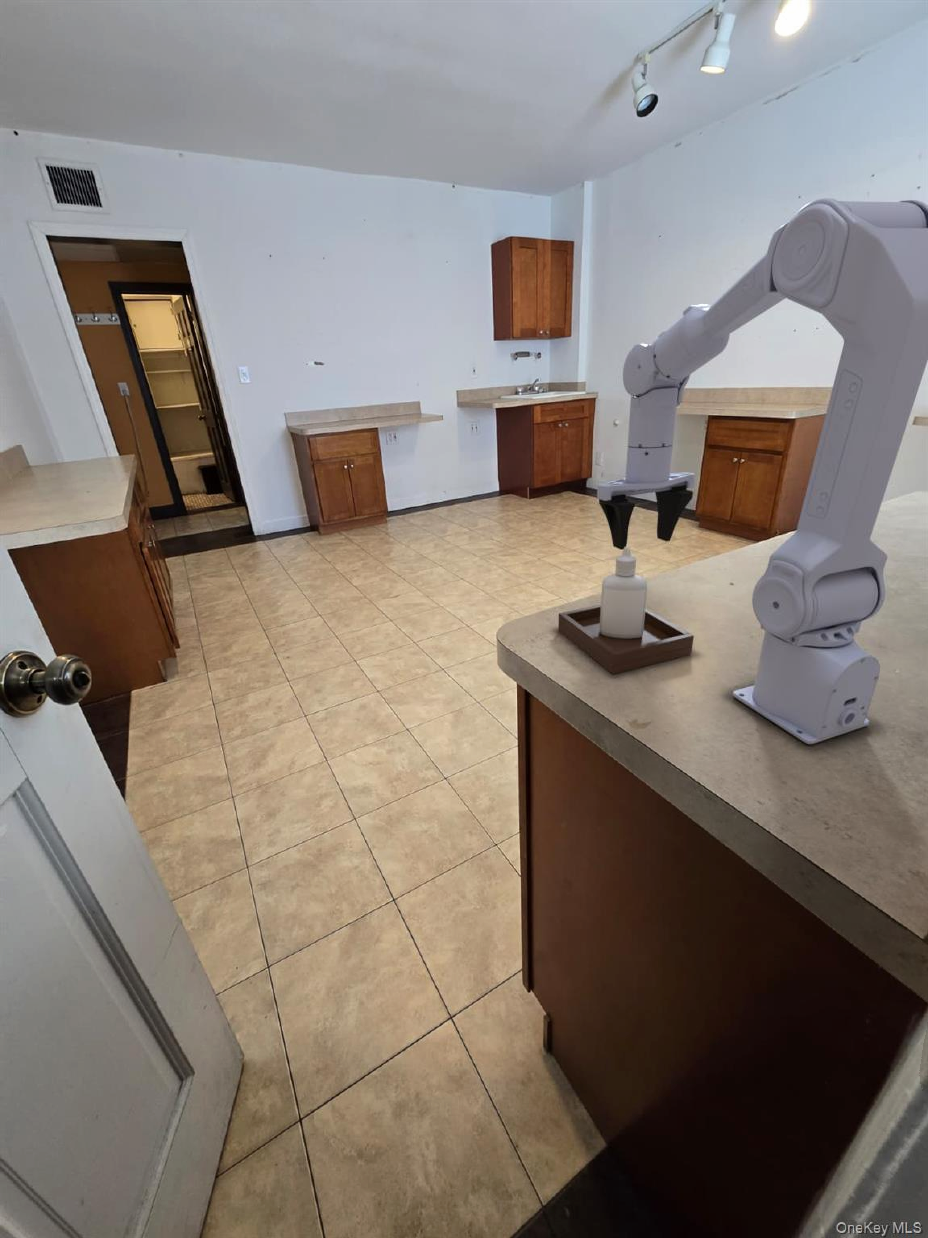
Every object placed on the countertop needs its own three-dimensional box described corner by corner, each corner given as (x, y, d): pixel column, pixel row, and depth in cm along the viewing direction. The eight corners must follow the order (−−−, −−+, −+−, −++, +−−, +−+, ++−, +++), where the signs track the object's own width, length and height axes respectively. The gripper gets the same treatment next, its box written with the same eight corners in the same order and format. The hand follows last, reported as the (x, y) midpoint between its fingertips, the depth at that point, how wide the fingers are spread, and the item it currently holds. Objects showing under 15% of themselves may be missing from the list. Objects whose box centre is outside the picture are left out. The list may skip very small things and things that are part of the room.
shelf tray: (691, 654, 65) (694, 635, 64) (612, 674, 62) (614, 655, 61) (627, 615, 77) (628, 598, 76) (558, 630, 74) (558, 613, 73)
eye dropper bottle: (631, 645, 66) (639, 556, 61) (593, 633, 69) (597, 548, 64) (648, 633, 68) (656, 546, 63) (611, 622, 72) (616, 540, 67)
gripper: (674, 438, 74) (664, 530, 80) (586, 448, 70) (583, 544, 76) (710, 441, 68) (697, 540, 74) (616, 453, 64) (610, 557, 70)
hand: (641, 543), depth 74 cm, fingers open, 7 cm apart
